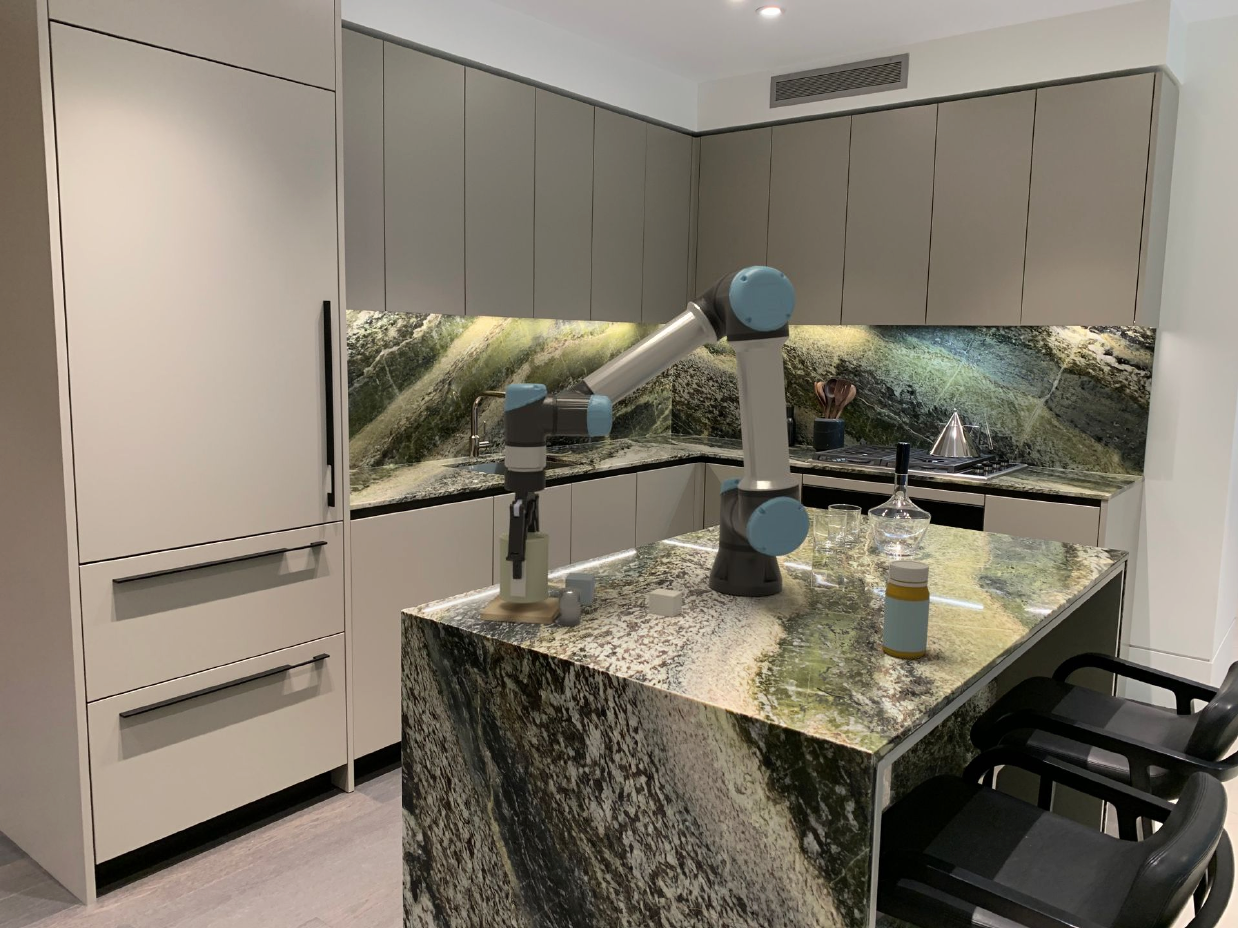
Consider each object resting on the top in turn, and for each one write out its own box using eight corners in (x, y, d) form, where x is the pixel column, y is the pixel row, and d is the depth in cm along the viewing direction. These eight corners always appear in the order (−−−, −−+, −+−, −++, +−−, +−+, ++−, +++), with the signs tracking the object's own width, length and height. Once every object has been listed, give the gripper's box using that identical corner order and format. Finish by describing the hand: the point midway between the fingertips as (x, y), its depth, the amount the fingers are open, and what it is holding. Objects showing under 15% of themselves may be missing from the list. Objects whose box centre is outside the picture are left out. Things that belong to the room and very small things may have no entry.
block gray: (594, 598, 189) (594, 574, 189) (590, 605, 184) (591, 580, 184) (569, 597, 190) (569, 572, 189) (564, 604, 185) (565, 579, 184)
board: (564, 604, 185) (564, 598, 184) (551, 623, 172) (551, 617, 172) (498, 600, 186) (498, 594, 186) (480, 619, 173) (480, 613, 173)
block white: (681, 612, 181) (682, 591, 181) (673, 617, 178) (673, 596, 177) (657, 608, 184) (658, 588, 183) (648, 613, 180) (649, 592, 180)
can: (540, 604, 173) (541, 539, 172) (492, 601, 175) (492, 536, 173) (554, 592, 182) (555, 529, 181) (507, 588, 184) (508, 527, 182)
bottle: (875, 646, 163) (881, 559, 161) (916, 646, 164) (921, 559, 162) (890, 659, 156) (896, 569, 154) (932, 659, 157) (938, 569, 155)
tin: (582, 620, 175) (582, 587, 174) (578, 626, 171) (578, 593, 170) (560, 618, 175) (560, 586, 174) (556, 625, 171) (556, 592, 170)
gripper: (518, 460, 187) (517, 574, 189) (489, 475, 165) (489, 603, 168) (556, 461, 186) (555, 576, 189) (532, 477, 164) (531, 605, 167)
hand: (524, 588), depth 178 cm, fingers closed on can, 9 cm apart
